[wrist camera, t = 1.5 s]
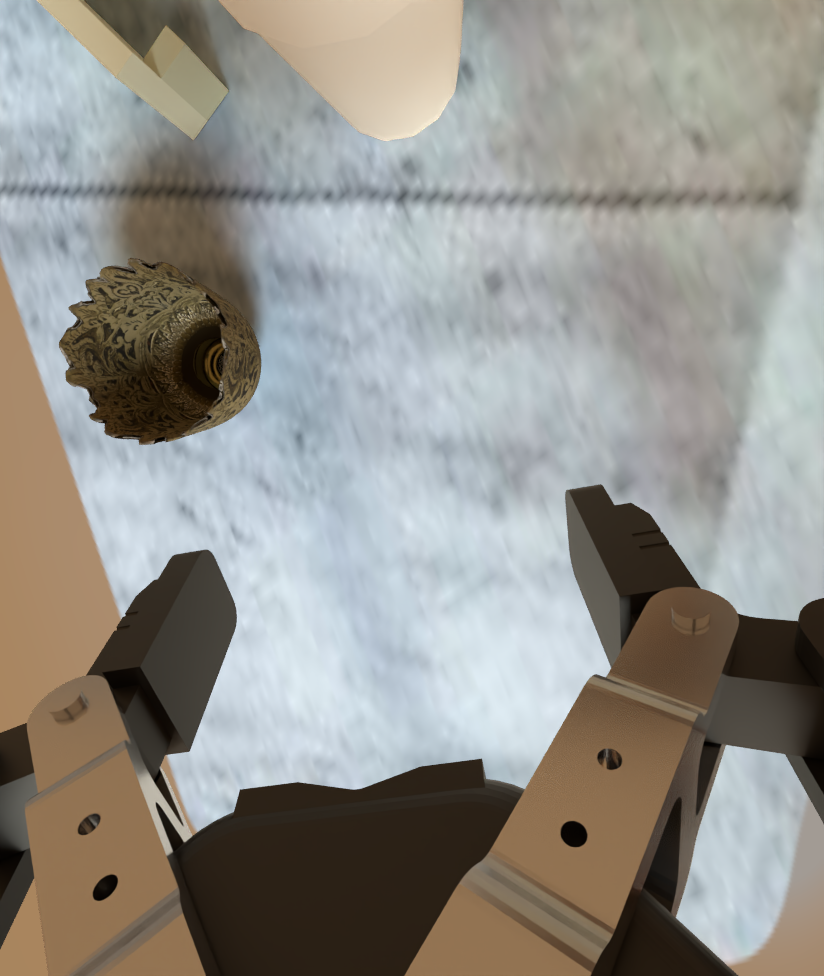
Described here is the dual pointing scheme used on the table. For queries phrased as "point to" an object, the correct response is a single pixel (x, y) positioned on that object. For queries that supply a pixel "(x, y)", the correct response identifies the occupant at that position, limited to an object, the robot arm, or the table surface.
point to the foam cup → (367, 55)
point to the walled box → (147, 66)
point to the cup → (159, 353)
